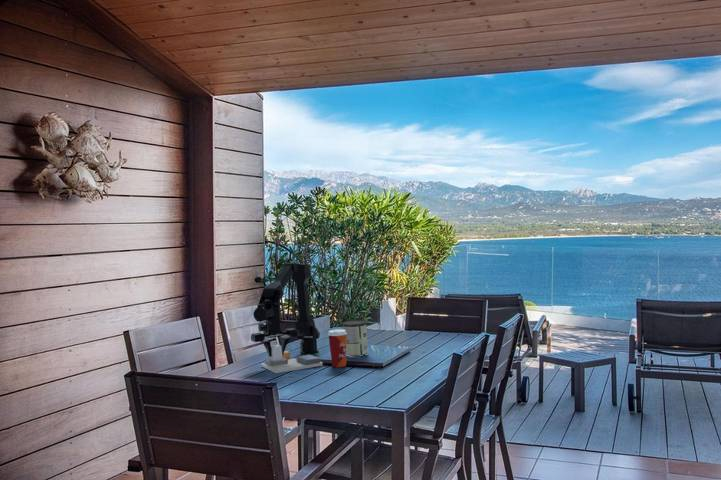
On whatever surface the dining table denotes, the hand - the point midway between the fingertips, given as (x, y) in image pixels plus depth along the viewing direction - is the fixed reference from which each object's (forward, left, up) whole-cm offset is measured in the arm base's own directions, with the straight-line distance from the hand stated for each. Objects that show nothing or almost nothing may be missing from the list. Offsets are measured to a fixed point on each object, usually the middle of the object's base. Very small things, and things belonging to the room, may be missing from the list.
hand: (276, 356), depth 274 cm
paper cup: (-20, +17, -4) cm, 27 cm away
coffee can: (-35, +3, -4) cm, 35 cm away
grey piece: (-11, +7, -3) cm, 13 cm away
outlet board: (-5, +4, -4) cm, 8 cm away
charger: (0, 0, -3) cm, 3 cm away
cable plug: (-6, -11, -4) cm, 13 cm away
